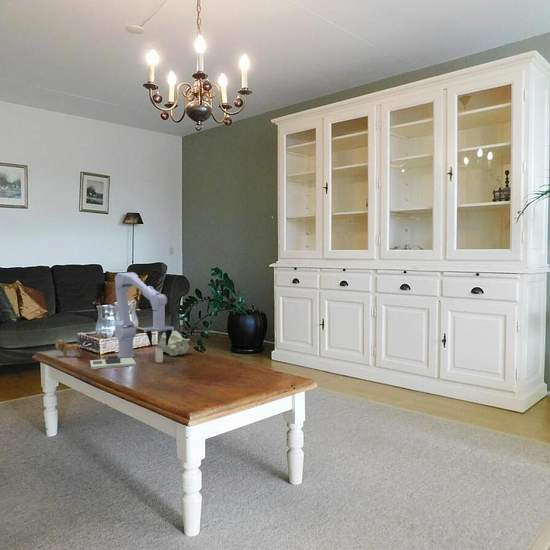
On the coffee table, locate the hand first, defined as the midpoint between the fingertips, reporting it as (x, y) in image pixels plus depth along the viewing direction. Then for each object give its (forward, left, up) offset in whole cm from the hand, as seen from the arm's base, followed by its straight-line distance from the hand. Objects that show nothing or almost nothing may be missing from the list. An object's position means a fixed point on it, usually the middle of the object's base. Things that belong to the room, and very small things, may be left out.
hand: (159, 345), depth 244 cm
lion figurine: (-28, -42, -8) cm, 51 cm away
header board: (-1, -22, -8) cm, 23 cm away
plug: (0, 0, -8) cm, 8 cm away
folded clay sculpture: (-15, +10, -8) cm, 20 cm away
